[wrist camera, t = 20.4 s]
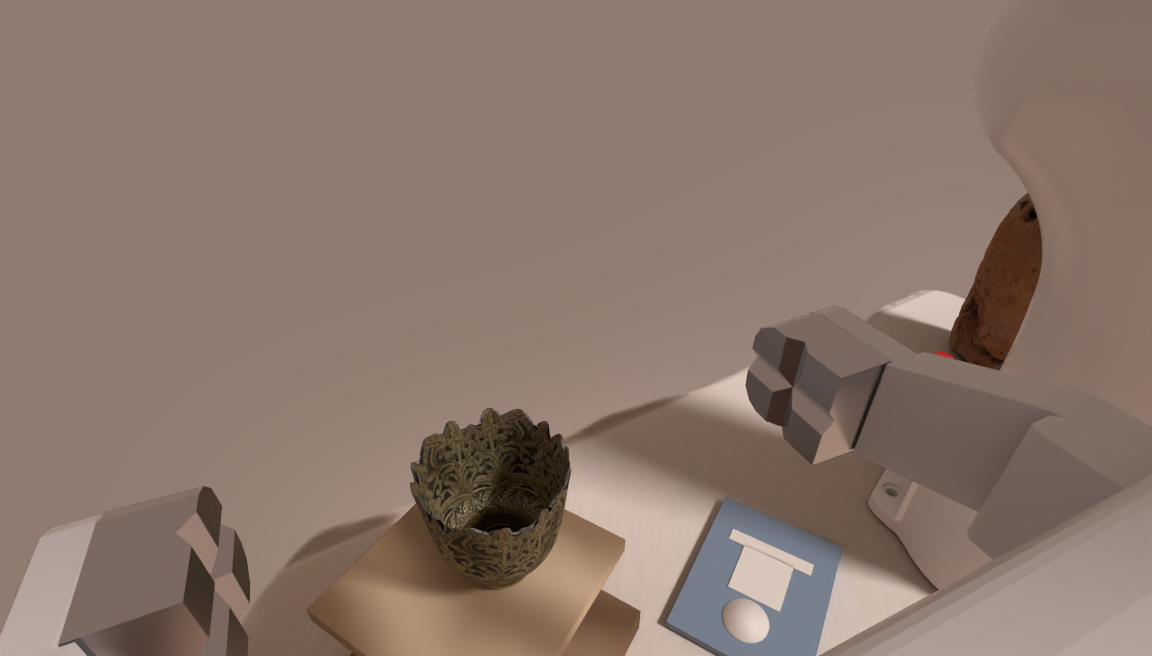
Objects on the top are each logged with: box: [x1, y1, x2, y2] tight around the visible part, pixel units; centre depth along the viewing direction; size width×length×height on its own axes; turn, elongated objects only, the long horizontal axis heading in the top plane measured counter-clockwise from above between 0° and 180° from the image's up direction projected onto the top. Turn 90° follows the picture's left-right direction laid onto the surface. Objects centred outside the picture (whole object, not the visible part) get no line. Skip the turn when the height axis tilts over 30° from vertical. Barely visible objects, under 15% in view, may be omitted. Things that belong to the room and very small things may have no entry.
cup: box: [410, 408, 571, 589], centre depth 29 cm, size 8×7×8 cm
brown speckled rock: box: [949, 193, 1042, 369], centre depth 56 cm, size 11×8×20 cm
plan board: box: [666, 497, 842, 656], centre depth 40 cm, size 12×9×1 cm
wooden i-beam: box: [307, 503, 641, 656], centre depth 33 cm, size 14×14×10 cm
